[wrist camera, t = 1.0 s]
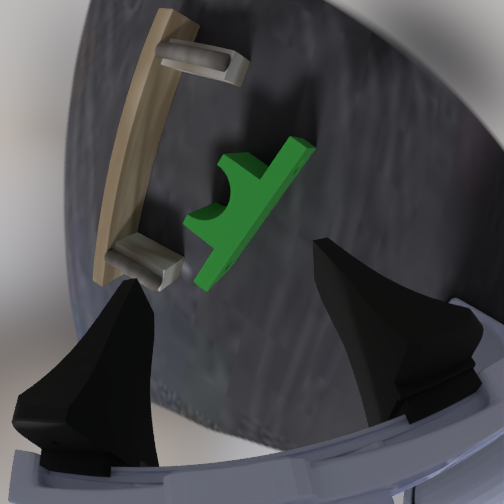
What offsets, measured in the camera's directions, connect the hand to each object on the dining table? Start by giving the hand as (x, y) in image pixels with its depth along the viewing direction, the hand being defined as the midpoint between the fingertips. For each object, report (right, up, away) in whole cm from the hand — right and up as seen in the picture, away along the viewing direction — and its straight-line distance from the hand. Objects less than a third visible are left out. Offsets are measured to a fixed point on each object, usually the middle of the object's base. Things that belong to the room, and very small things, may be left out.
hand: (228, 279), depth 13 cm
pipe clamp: (+1, +5, +10) cm, 11 cm away
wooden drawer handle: (-5, +8, +11) cm, 14 cm away
